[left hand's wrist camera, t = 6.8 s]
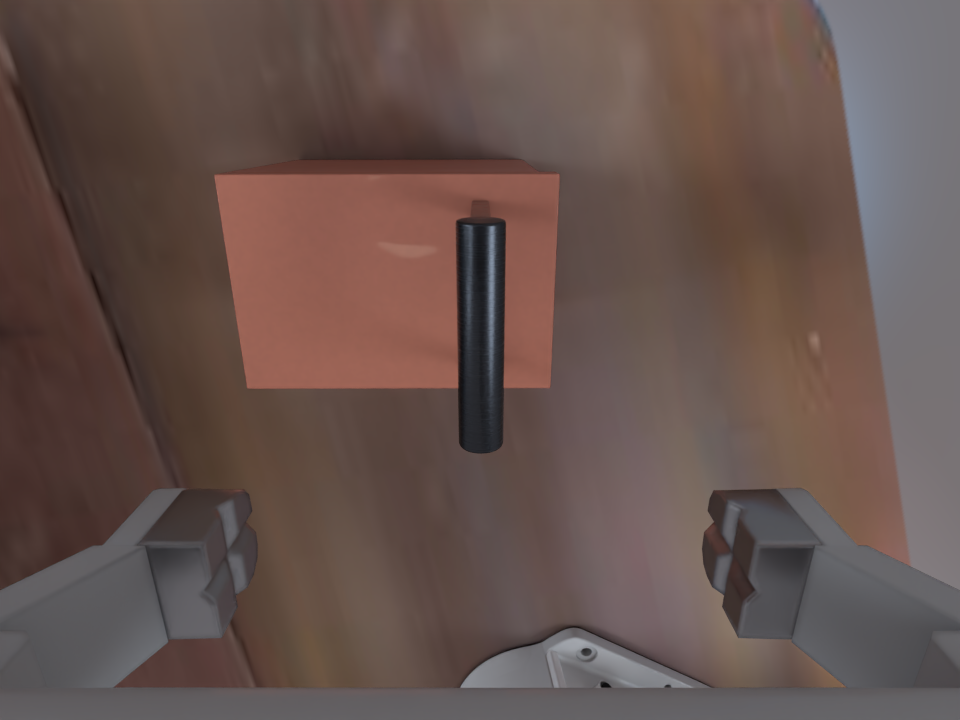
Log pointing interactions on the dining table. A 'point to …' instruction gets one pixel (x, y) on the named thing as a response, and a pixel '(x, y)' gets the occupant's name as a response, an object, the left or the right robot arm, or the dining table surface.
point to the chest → (396, 166)
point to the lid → (396, 283)
